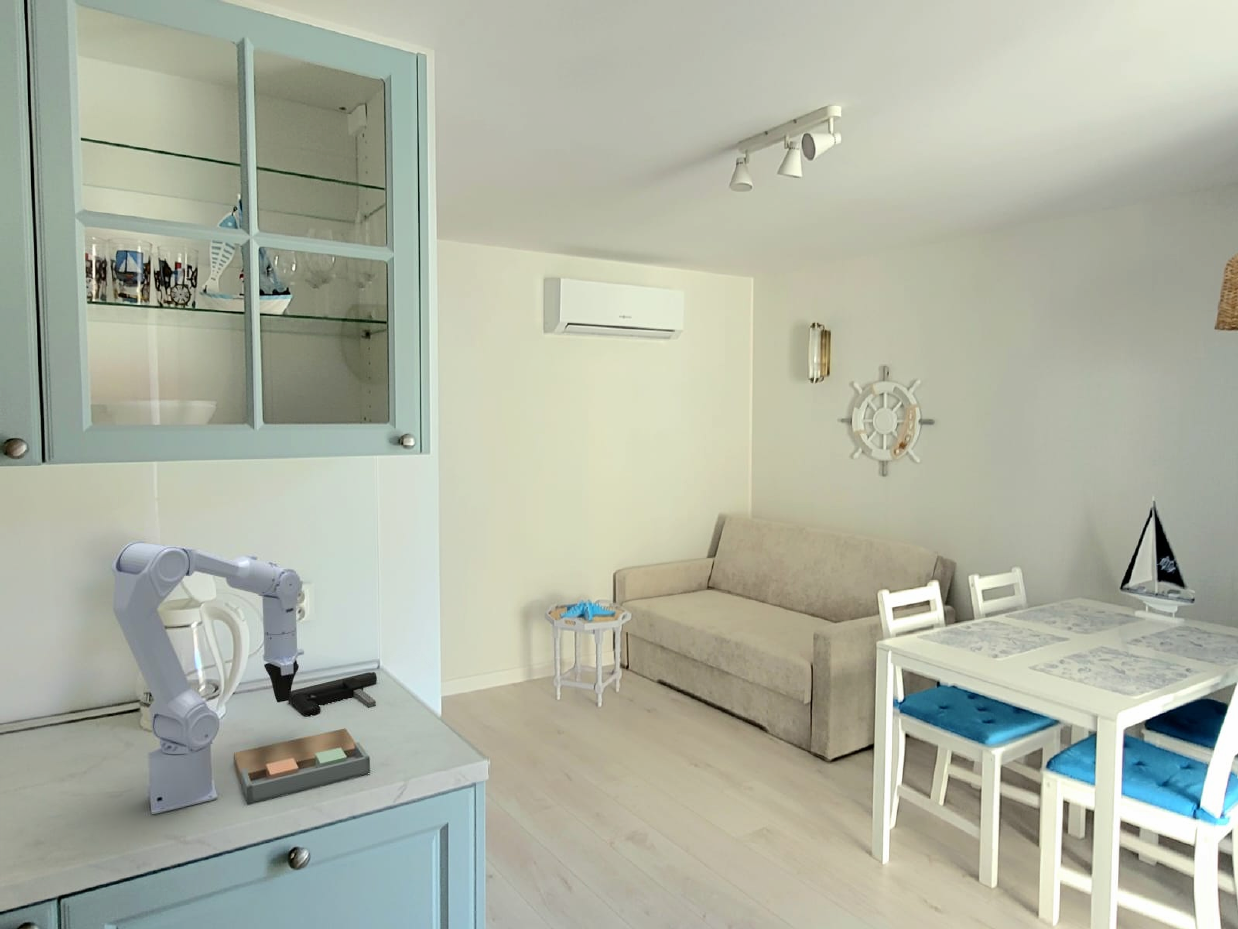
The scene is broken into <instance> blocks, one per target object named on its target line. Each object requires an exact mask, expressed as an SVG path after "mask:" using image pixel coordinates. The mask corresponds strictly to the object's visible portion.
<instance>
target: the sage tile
mask: <svg viewBox="0 0 1238 929" xmlns="http://www.w3.org/2000/svg"><path fill="white" fill-rule="evenodd" d="M345 761H347V756H346V755H345V753H344V752H343V750H342V749H341V748H337V749H332V750H328V751H324V752H319V753H315V767H316V768H320V767H324V766H328V765H333V764H337V763H341V762H345Z"/></svg>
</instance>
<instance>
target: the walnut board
mask: <svg viewBox="0 0 1238 929" xmlns="http://www.w3.org/2000/svg"><path fill="white" fill-rule="evenodd" d="M354 743H356V741H355V740H354V739H353V737H352V735H351V734H350V732H349V731H348V730H347V729H346V727H345V728H341V729H337V730H336V729H335V730H333V731H332V730H331V731H328V732H323V733H319V734H314V735H310V736H304V737H300V738H296V739H295V738H294V739H292V740H291V739H290V740H287V741H282V742H277V743H274V744H268V745H263V746H259V747H255V748H254V747H253V748H250V749H244V750H241V751H236V752H233V764H234V768H235V771H236V773H237V777H238V780H239V783H240V784H241V769H245V768H246V770H247V773H248V775H249V778H250V781H253V780H257V779H261V778H266V764H270V763H274V762H278V761H282V760H287V759H291V758H293V759H294V760H295V762H296V764H297V766H298V768H299V769H303V768H307V767H312V766H315V753H319V752H324V751H328V750H332V749H337V748H341V749H342V750H343V752H344V753H345V755H346V756H347V758H349V757H353V756H355V749H354Z"/></svg>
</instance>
